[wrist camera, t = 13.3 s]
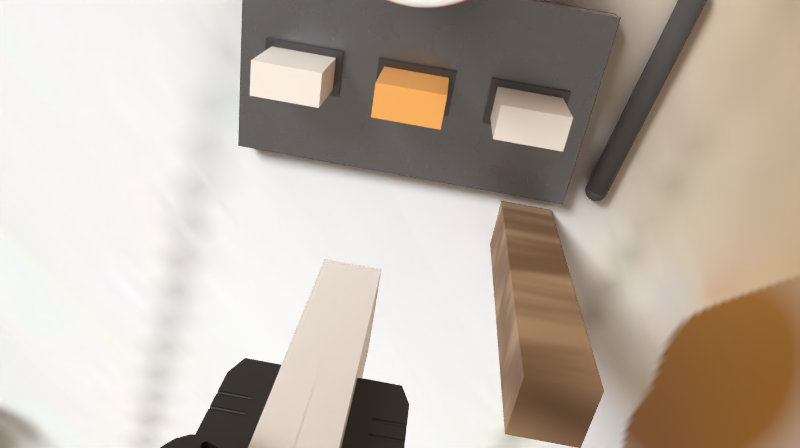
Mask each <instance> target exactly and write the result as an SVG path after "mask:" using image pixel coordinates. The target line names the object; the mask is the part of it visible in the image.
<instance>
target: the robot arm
mask: <svg viewBox="0 0 800 448" xmlns="http://www.w3.org/2000/svg"><path fill="white" fill-rule="evenodd" d="M380 274H381V269H376V268H370V267H365V266H360V265H354V264H349V263H343V262H338V261H332V260H327V259H325V260H324V262H323V264H322V267H321V269H320V272H319V274H318V277H317V279H316V282H315V284H314V287H313V289H312V292H311V294H310V296H309V299H308V301H307V304H306V306H305V309H304V311H303V314H302V316H301V319H300V321H299V324H298V326H297V328H296V331H295V333H294V336H293V338H292V341H291V343H290V346H289V348H288V351H287V353H286V356H285V358H284V360H283V363H282V365H279V364H274V363H268V362H263V361H258V360H252V359H247V358H245V359H243V360H242V361H241V362H240V363H239V364H237V365H236V366H235V367H234V368H232V369H231V370H230V371H229V372H228V373H227V375H226V377H225V378H224V380H223V382H222V384H221V386H220V388H219V390H218V394H216V396H215V398H214V400H213V402H212V404H211V406H210V409H208V411H207V413H206V415H205V417H204V419H203V421H202V423H201V425H200V427H199V429H198V431H197V433H196V435H187V436H183V437H180V438H176V439H174V440H172V441H170V442H169V443H167V444H165V445H164V446H162V447H161V448H404V443H405V435H406V426H407V418H408V409H409V403H408V401H407V398H406V395H405V393H404V390H403V388H402V386H400V385H395V384H389V383H384V382H379V381H373V380H368V379H362V375H363V371H364V366H365V362H366V357H367V353H368V348H369V341H370V335H371V329H372V323H373V317H374V311H375V305H376V298H377V292H378V286H379V280H380Z"/></svg>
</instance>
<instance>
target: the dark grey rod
mask: <svg viewBox="0 0 800 448" xmlns="http://www.w3.org/2000/svg"><path fill="white" fill-rule="evenodd" d="M706 1H707V0H678V2H677V4H676V6H675V8H674V10H673V12H672V14H671V16H670V18H669V20H668V22H667V24H666V26H665V28H664V30H663V32H662V34H661V36H660V38H659V41H658V43H657V45H656V47H655V49H654V51H653V53H652V55H651V57H650V59H649V61H648V63H647V65H646V67H645V69H644V71H643V73H642V75H641V77H640V79H639V81H638V83H637V85H636V87H635V89H634V91H633V93H632V95H631V97H630V99H629V101H628V103H627V105H626V107H625V109H624V111H623V113H622V115H621V117H620V119H619V121H618V123H617V125H616V127H615V129H614V131H613V133H612V135H611V137H610V139H609V141H608V143H607V146H606V148H605V150H604V152H603V154H602V156H601V158H600V160H599V162H598V164H597V166H596V168H595V170H594V172H593V174H592V176H591V178H590V180H589V182H588V184H587V186H586V189H585V192H586V195H587V197H588V198H589V199H591V200H593V201H599V200H602V199H603V198H604V197H605V196H606V194H607V192H608V191H609V189H610V187H611V185H612V183H613V181H614V179H615V177H616V175H617V173H618V171H619V169H620V167H621V165H622V163H623V162H624V160H625V158H626V156H627V154H628V152H629V150H630V148H631V146H632V144H633V142H634V140H635V138H636V136H637V134H638V132H639V131H640V129H641V127H642V125H643V123H644V121H645V119H646V117H647V115H648V113H649V111H650V109H651V107H652V105H653V103H654V102H655V100H656V98H657V96H658V94H659V92H660V90H661V88H662V86H663V84H664V82H665V80H666V78H667V76H668V74H669V73H670V71H671V69H672V67H673V65H674V63H675V61H676V59H677V57H678V55H679V53H680V51H681V49H682V47H683V45H684V43H685V42H686V40H687V38H688V36H689V34H690V32H691V30H692V28H693V26H694V24H695V22H696V20H697V18H698V16H699V14H700V13H701V11H702V9H703V7H704V5H705V3H706Z"/></svg>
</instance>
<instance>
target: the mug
mask: <svg viewBox="0 0 800 448" xmlns="http://www.w3.org/2000/svg"><path fill="white" fill-rule="evenodd" d="M386 1H389V2H392V3H395V4H399V5H403V6H409V7H415V8H438V7H445V6H450V5H454V4H458V3H461V2H464V1H467V0H386Z"/></svg>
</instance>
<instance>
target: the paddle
mask: <svg viewBox="0 0 800 448" xmlns="http://www.w3.org/2000/svg"><path fill="white" fill-rule="evenodd" d="M335 62H336V58H334V57H329V56H323V55H317V54H312V53H306V52H301V51H295V50H289V49H284V48H278V47H272V46H271V47H270V48H268V49H267V50H265V51H264V52H263V53H261V54H260V55H258V56H257V57H255V58H254V59H252V60H251V71H250V96H255V97H260V98H266V99H271V100H277V101H283V102H288V103H294V104H299V105H305V106H311V107H316V108H319V107H320V106H321V104H322V103H323V102H324V101H325V99H326V98H327V97H328V95H329V94H330V93H331V91H332V90H333V82H334V72H335Z"/></svg>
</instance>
